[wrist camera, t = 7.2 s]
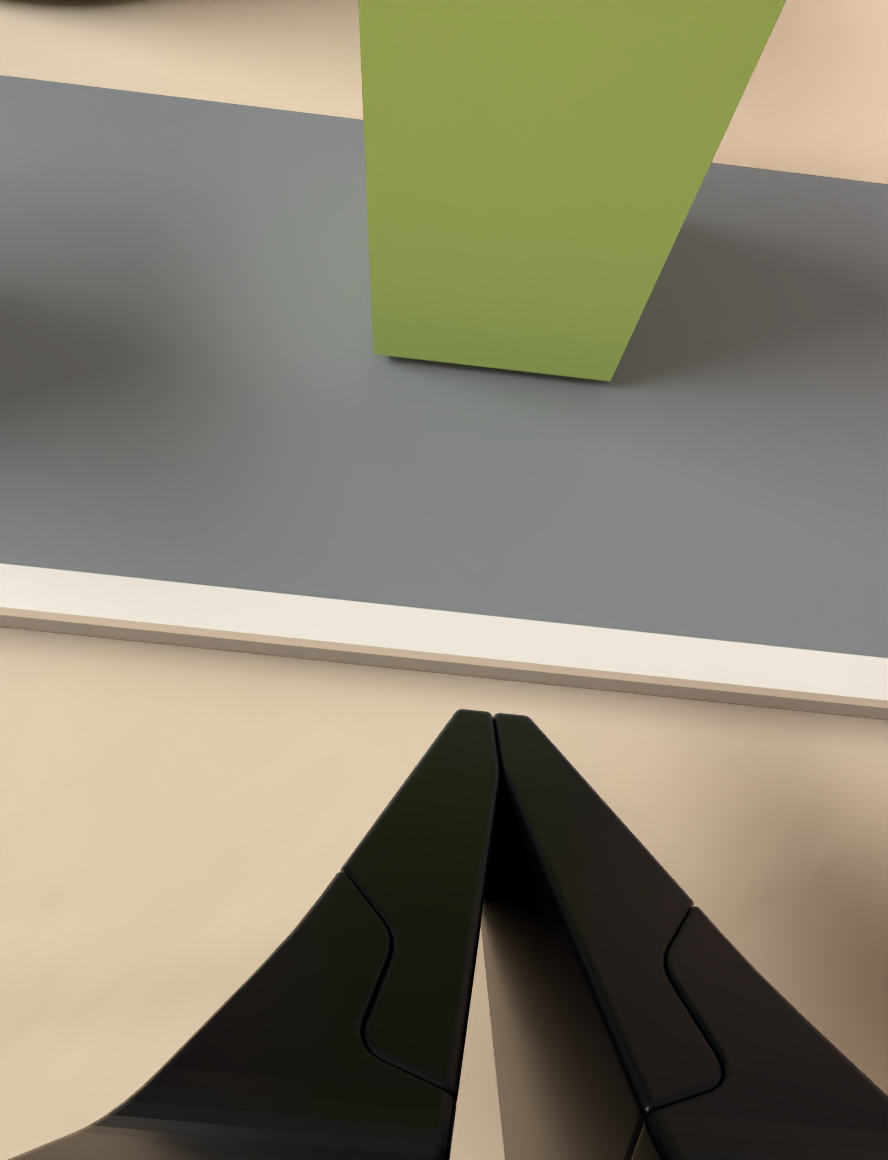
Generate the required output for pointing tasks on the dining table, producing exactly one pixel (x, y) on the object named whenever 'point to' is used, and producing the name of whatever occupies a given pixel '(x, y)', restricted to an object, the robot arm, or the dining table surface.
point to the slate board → (429, 426)
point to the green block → (538, 167)
